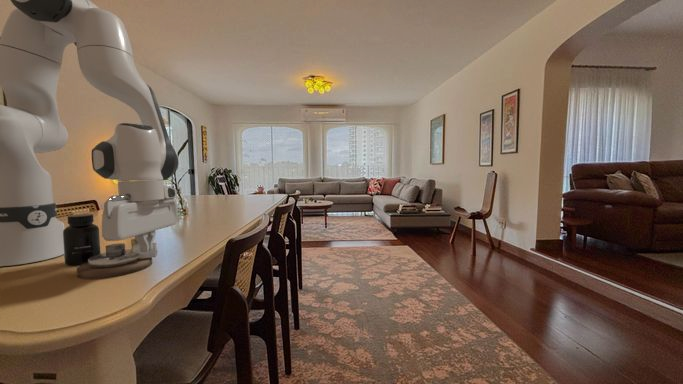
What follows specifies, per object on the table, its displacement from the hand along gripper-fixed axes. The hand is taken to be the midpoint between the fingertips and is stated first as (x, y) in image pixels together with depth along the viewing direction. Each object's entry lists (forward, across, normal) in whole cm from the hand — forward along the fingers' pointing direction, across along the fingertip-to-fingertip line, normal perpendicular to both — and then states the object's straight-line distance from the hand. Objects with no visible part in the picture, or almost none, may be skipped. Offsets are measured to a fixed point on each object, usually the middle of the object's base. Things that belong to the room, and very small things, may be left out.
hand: (146, 251), depth 69 cm
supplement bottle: (+4, +3, +19) cm, 20 cm away
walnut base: (+4, -1, +7) cm, 8 cm away
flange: (+2, 0, +6) cm, 6 cm away
